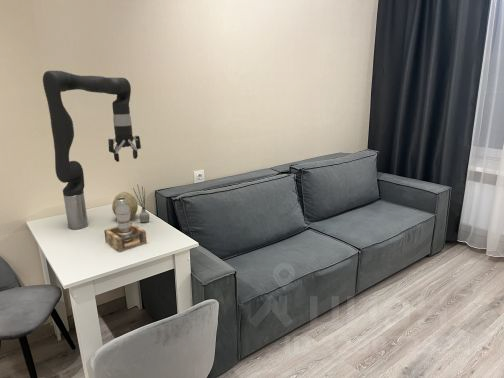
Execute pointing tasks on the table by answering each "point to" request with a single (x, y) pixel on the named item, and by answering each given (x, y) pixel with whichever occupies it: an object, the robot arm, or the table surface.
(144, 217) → the reed diffuser
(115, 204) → the fossilized egg
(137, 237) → the caddy
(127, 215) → the metal bottle
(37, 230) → the table surface
